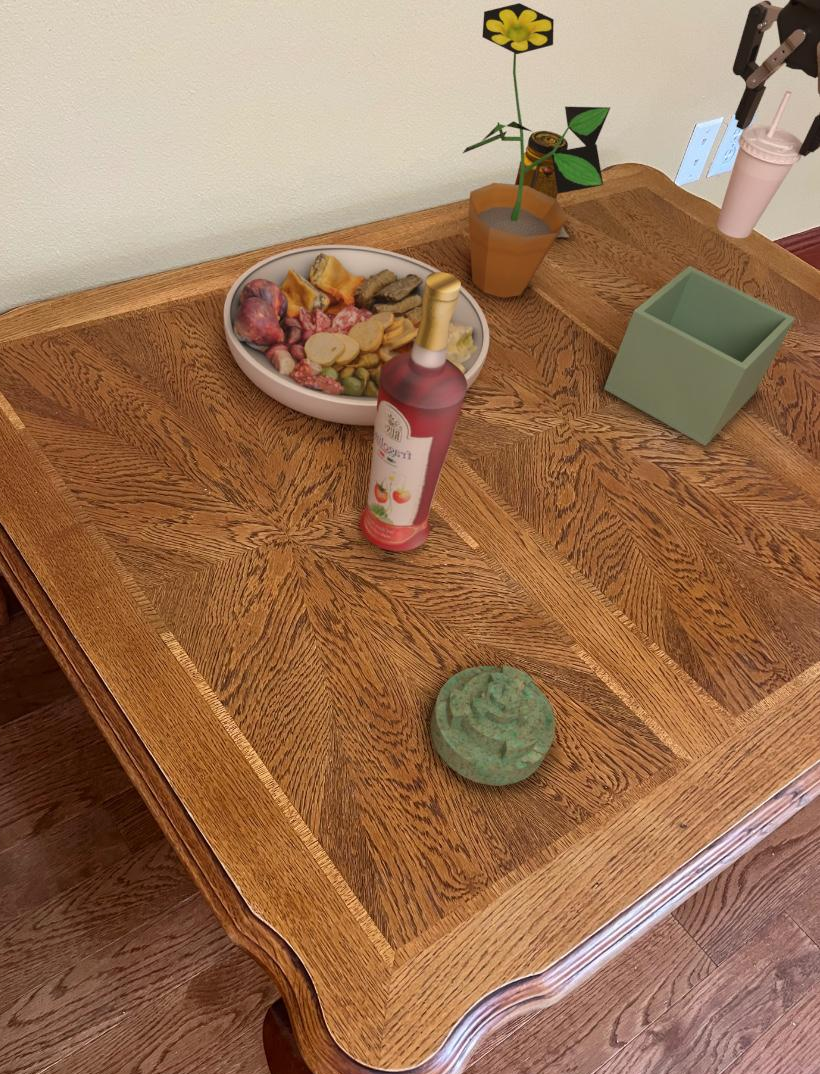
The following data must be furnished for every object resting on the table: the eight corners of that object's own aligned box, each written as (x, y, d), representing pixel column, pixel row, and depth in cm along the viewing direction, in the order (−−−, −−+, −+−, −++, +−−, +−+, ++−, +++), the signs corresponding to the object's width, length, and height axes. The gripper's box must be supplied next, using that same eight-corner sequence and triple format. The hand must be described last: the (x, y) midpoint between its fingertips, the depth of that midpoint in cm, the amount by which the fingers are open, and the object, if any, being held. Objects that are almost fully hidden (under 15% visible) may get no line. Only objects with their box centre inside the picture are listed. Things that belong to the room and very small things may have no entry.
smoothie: (724, 207, 105) (781, 74, 94) (773, 233, 102) (838, 100, 91) (692, 223, 101) (748, 88, 90) (743, 251, 99) (806, 115, 88)
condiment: (498, 210, 134) (518, 125, 125) (554, 211, 136) (578, 127, 127) (511, 238, 130) (532, 152, 121) (568, 239, 131) (594, 154, 122)
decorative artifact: (457, 799, 75) (567, 768, 78) (475, 756, 70) (592, 724, 72) (412, 697, 81) (516, 672, 84) (426, 649, 75) (536, 624, 78)
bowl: (428, 271, 122) (438, 214, 116) (521, 422, 105) (539, 365, 99) (199, 290, 114) (197, 230, 108) (260, 458, 97) (262, 398, 91)
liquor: (444, 538, 93) (510, 289, 71) (393, 573, 89) (445, 323, 67) (392, 496, 96) (441, 244, 74) (340, 529, 92) (374, 274, 70)
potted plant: (400, 271, 122) (441, 15, 98) (497, 230, 131) (554, -13, 107) (501, 341, 114) (570, 84, 91) (595, 293, 124) (680, 48, 100)
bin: (656, 342, 118) (689, 265, 110) (754, 394, 114) (795, 317, 105) (603, 389, 111) (633, 310, 102) (705, 446, 106) (745, 369, 98)
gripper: (953, -35, 81) (853, 157, 94) (800, -87, 86) (725, 102, 99) (925, -18, 77) (825, 180, 90) (767, -74, 82) (693, 122, 95)
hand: (773, 139), depth 94 cm, fingers closed on smoothie, 6 cm apart
